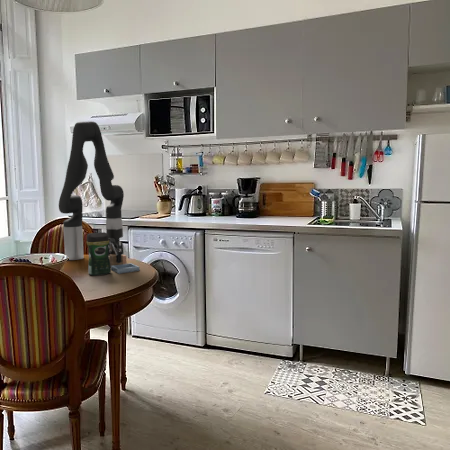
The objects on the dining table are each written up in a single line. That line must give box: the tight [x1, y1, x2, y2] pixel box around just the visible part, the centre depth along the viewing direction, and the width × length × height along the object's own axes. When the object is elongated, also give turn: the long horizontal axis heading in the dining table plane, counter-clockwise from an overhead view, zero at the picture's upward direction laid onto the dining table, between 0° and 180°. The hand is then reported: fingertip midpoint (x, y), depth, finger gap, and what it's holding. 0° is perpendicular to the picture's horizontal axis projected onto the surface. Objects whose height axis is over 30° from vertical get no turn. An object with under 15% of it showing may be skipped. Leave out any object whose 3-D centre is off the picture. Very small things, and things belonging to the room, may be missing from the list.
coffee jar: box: [86, 231, 112, 276], centre depth 191 cm, size 10×8×19 cm
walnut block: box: [108, 253, 124, 267], centre depth 205 cm, size 5×5×6 cm
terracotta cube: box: [122, 254, 128, 264], centre depth 214 cm, size 4×4×4 cm
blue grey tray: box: [111, 262, 141, 275], centre depth 199 cm, size 10×10×2 cm
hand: (115, 261), depth 205 cm, fingers open, 8 cm apart
